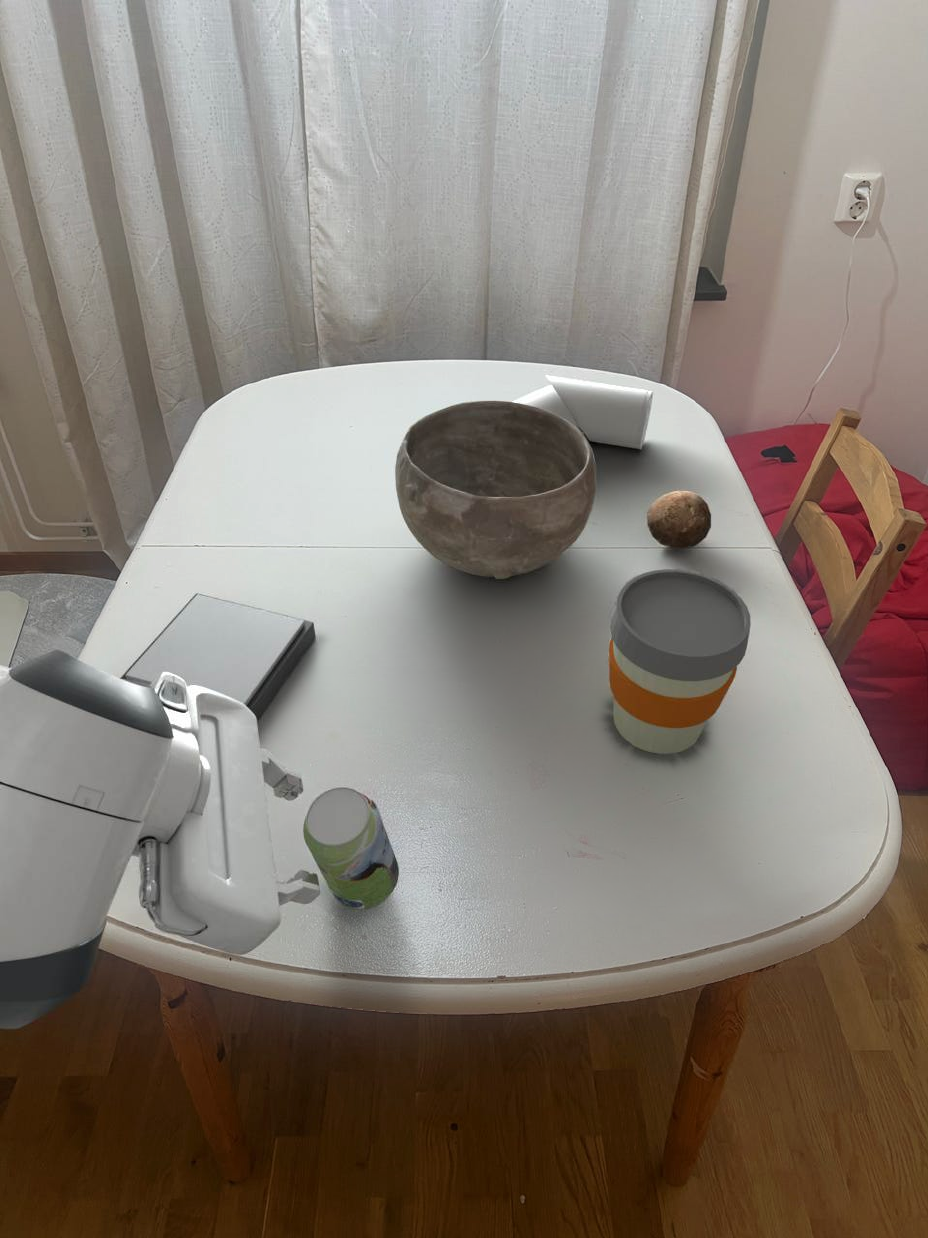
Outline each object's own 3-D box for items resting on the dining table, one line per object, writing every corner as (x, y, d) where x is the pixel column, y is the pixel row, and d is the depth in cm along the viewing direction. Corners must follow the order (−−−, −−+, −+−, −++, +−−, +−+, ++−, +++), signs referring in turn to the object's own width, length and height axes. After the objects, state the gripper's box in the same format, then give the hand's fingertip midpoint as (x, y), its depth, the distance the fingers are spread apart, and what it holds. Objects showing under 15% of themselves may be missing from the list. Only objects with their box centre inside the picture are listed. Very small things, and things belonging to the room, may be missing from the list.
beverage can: (413, 872, 74) (407, 789, 66) (362, 940, 70) (349, 859, 62) (355, 839, 77) (343, 755, 69) (302, 903, 72) (283, 820, 64)
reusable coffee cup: (626, 781, 82) (649, 671, 72) (577, 689, 91) (592, 580, 80) (742, 752, 84) (781, 643, 74) (683, 665, 93) (711, 557, 83)
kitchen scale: (122, 698, 89) (114, 678, 87) (200, 608, 100) (195, 588, 98) (248, 734, 86) (243, 715, 84) (316, 637, 96) (313, 617, 94)
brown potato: (664, 487, 113) (677, 470, 107) (713, 522, 113) (729, 508, 106) (629, 532, 112) (640, 518, 106) (679, 569, 111) (692, 557, 105)
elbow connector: (577, 391, 138) (487, 432, 128) (595, 334, 129) (500, 373, 119) (658, 454, 131) (570, 503, 121) (683, 398, 123) (590, 446, 113)
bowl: (479, 639, 96) (482, 531, 86) (358, 539, 110) (348, 436, 100) (625, 555, 108) (642, 452, 98) (498, 474, 121) (502, 376, 111)
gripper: (170, 896, 49) (355, 938, 57) (166, 655, 63) (313, 716, 72) (110, 954, 51) (297, 986, 59) (119, 707, 65) (267, 761, 74)
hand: (305, 836), depth 66 cm, fingers open, 8 cm apart
